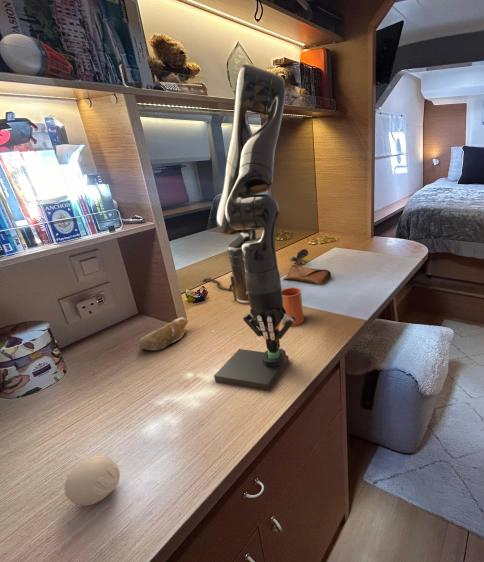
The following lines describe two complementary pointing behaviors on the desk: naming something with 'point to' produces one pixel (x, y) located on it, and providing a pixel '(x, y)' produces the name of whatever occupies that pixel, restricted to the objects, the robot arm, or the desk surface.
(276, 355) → the scale button
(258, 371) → the scale
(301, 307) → the cup
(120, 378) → the desk surface
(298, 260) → the eagle figurine
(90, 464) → the tan rounded lump
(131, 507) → the desk surface
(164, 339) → the stone
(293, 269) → the sunglasses case
